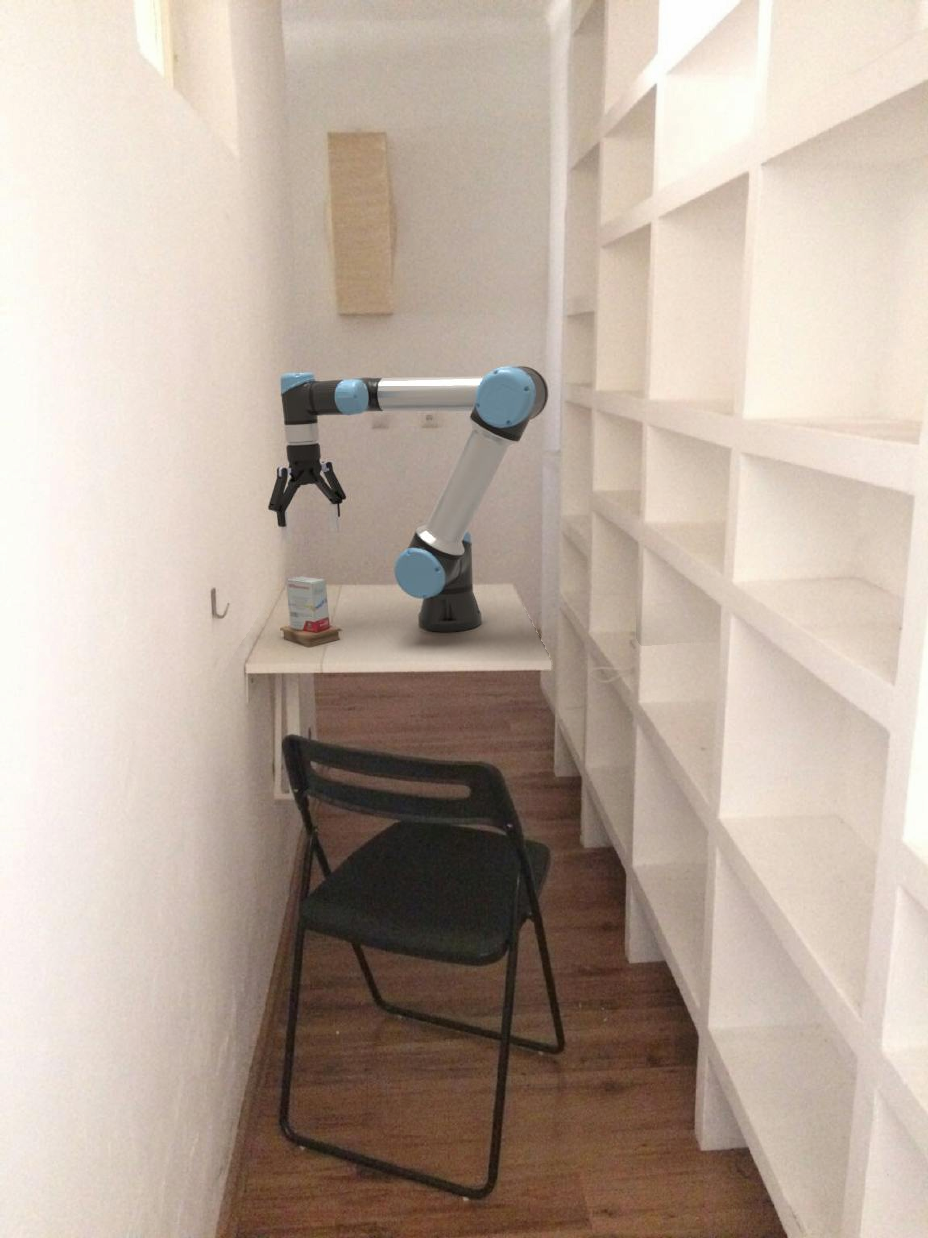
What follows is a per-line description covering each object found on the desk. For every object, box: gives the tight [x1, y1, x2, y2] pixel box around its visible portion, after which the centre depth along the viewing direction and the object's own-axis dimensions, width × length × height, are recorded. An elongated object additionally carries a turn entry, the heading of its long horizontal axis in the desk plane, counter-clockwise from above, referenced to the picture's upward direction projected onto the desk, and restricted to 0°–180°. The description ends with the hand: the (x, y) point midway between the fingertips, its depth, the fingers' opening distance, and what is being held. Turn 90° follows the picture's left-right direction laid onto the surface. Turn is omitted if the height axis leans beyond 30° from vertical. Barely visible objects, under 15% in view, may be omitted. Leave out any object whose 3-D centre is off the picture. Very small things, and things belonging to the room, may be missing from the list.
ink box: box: [285, 575, 331, 632], centre depth 223 cm, size 9×5×12 cm, turn 54°
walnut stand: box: [279, 624, 342, 648], centre depth 225 cm, size 12×9×2 cm
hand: (311, 536), depth 224 cm, fingers open, 13 cm apart
